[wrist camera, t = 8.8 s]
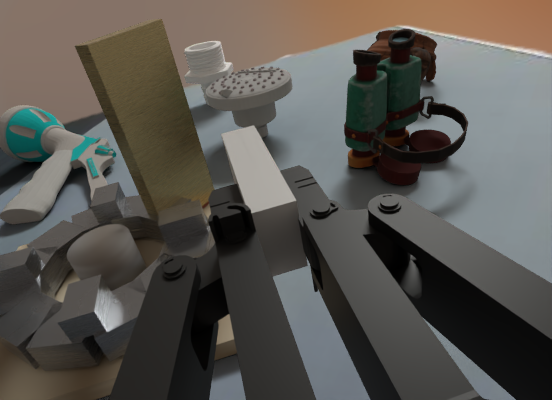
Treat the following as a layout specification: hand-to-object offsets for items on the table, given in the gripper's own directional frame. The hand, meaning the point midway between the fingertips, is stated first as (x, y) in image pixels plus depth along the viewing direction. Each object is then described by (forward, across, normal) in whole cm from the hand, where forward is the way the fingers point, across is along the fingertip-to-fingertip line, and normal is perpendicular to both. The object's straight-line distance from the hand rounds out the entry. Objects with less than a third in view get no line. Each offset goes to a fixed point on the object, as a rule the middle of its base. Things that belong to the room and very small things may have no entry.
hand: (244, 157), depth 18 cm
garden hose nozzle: (+30, -19, -12) cm, 38 cm away
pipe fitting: (+42, +1, -11) cm, 44 cm away
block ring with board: (+8, -9, -9) cm, 15 cm away
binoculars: (+12, +15, -11) cm, 22 cm away
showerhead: (+26, +4, -11) cm, 29 cm away
